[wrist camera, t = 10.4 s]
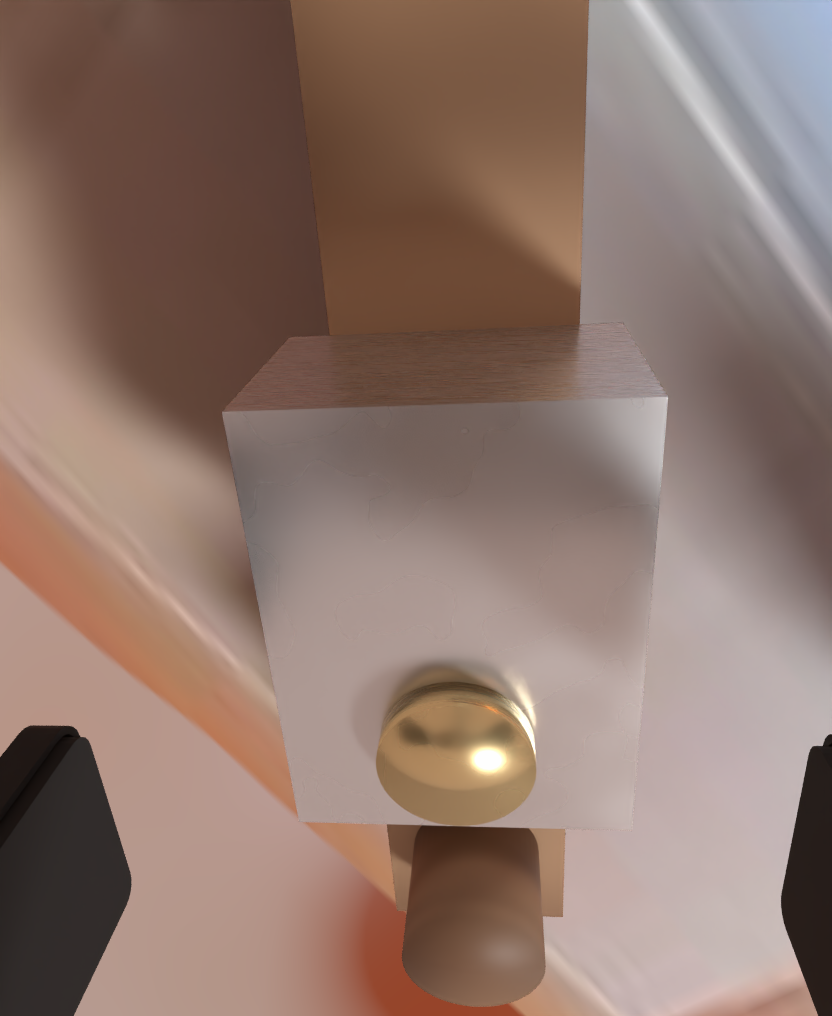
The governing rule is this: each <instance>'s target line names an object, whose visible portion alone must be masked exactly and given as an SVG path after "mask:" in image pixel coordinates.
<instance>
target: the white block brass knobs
mask: <svg viewBox="0 0 832 1016" xmlns="http://www.w3.org/2000/svg"><path fill="white" fill-rule="evenodd" d="M667 405H668V396H667V394H666V393H665V391H664V389H663V388H662V386H661V384H660V383H659V381H658V379H657V378H656V376H655V374H654V373H653V371H652V370H651V368H650V366H649V365H648V363H647V361H646V360H645V358H644V356H643V355H642V353H641V351H640V350H639V348H638V347H637V345H636V343H635V342H634V340H633V338H632V337H631V335H630V333H629V332H628V330H627V328H626V327H625V325H624V323H603V324H580V325H557V326H535V327H512V328H489V329H466V330H443V331H420V332H397V333H375V334H352V335H329V336H306V337H289V338H288V340H287V341H286V342H285V343H284V344H283V345H282V346H281V347H280V348H279V349H278V351H277V352H276V353H275V354H274V355H273V356H272V357H271V358H270V359H269V360H268V362H267V363H266V364H265V365H264V366H263V367H262V368H261V369H260V370H259V371H258V373H257V374H256V375H255V376H254V377H253V378H252V379H251V380H250V381H249V382H248V384H247V385H246V386H245V387H244V388H243V389H242V390H241V391H240V392H239V393H238V395H237V396H236V397H235V398H234V399H233V400H232V401H231V402H230V403H229V404H228V406H227V407H226V408H225V409H224V410H223V411H222V416H223V421H224V426H225V432H226V437H227V442H228V447H229V453H230V458H231V463H232V469H233V474H234V479H235V485H236V490H237V495H238V500H239V506H240V511H241V516H242V522H243V527H244V532H245V538H246V543H247V548H248V553H249V559H250V564H251V569H252V575H253V580H254V585H255V590H256V596H257V601H258V606H259V612H260V617H261V622H262V628H263V633H264V638H265V643H266V649H267V654H268V659H269V665H270V670H271V675H272V680H273V686H274V691H275V696H276V702H277V707H278V712H279V718H280V723H281V728H282V733H283V739H284V744H285V749H286V755H287V760H288V765H289V770H290V776H291V781H292V786H293V792H294V797H295V802H296V808H297V813H298V818H299V822H322V823H359V824H396V825H434V826H471V827H508V828H545V829H583V830H620V831H632V825H633V813H634V801H635V789H636V777H637V765H638V753H639V741H640V729H641V717H642V705H643V693H644V681H645V669H646V657H647V645H648V633H649V621H650V609H651V597H652V585H653V573H654V561H655V549H656V537H657V525H658V513H659V501H660V489H661V477H662V465H663V453H664V441H665V429H666V417H667Z"/></svg>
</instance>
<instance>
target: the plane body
mask: <svg viewBox="0 0 832 1016" xmlns="http://www.w3.org/2000/svg"><path fill="white" fill-rule="evenodd" d="M290 3H291V11H292V20H293V28H294V37H295V45H296V54H297V62H298V71H299V80H300V88H301V97H302V105H303V114H304V122H305V131H306V139H307V148H308V156H309V165H310V173H311V182H312V190H313V199H314V207H315V216H316V224H317V233H318V241H319V250H320V258H321V267H322V275H323V284H324V292H325V301H326V309H327V318H328V326H329V335H352V334H375V333H397V332H420V331H443V330H466V329H489V328H512V327H535V326H557V325H580V291H581V256H582V221H583V186H584V151H585V116H586V80H587V45H588V10H589V0H290ZM387 829H388V837H389V846H390V854H391V863H392V871H393V880H394V889H395V897H396V906H397V911H407V915H406V924H405V933H404V942H403V951H402V961H403V966H404V968H405V971H406V973H407V974H408V976H409V977H410V978H411V979H412V981H413V982H414V983H415V984H416V985H417V986H419V987H420V988H421V989H423V990H424V991H426V992H427V993H429V994H431V995H432V996H435V997H437V998H439V999H442V1000H445V1001H447V1002H451V1003H455V1004H459V1005H465V1006H475V1007H486V1006H497V1005H503V1004H507V1003H511V1002H514V1001H516V1000H519V999H521V998H523V997H525V996H526V995H528V994H530V993H531V992H532V991H533V990H534V989H536V987H537V986H538V985H539V984H540V982H541V981H542V979H543V977H544V974H545V967H546V966H545V949H544V933H543V916H549V917H563V888H564V853H565V829H545V828H508V827H471V826H434V825H396V824H387Z"/></svg>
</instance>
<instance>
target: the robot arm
mask: <svg viewBox="0 0 832 1016" xmlns="http://www.w3.org/2000/svg"><path fill="white" fill-rule="evenodd" d="M130 891H131V874H130V870H129V867H128V864H127V860H126V857H125V854H124V851H123V848H122V845H121V841H120V838H119V835H118V831H117V828H116V825H115V822H114V819H113V815H112V812H111V809H110V806H109V803H108V799H107V796H106V793H105V790H104V786H103V783H102V780H101V777H100V774H99V770H98V768H97V764H96V761H95V758H94V755H93V751H92V748H91V745H90V743H89V741H88V740H87V739H86V738H84V737H80V735H79V733H78V731H77V730H76V729H75V728H74V727H71V726H29V727H26V728H25V729H24V730H22V731H21V732H20V733H19V735H18V736H17V737H16V738H15V739H14V741H13V742H12V743H11V744H10V746H9V747H8V748H7V750H6V751H5V752H4V753H3V754H2V756H1V757H0V1016H74V1014H75V1012H76V1009H77V1008H78V1005H79V1003H80V1001H81V999H82V997H83V994H84V993H85V991H86V989H87V987H88V985H89V982H90V980H91V978H92V976H93V974H94V972H95V970H96V968H97V966H98V964H99V961H100V959H101V957H102V955H103V953H104V951H105V949H106V947H107V944H108V943H109V941H110V938H111V936H112V934H113V932H114V930H115V928H116V926H117V924H118V922H119V919H120V917H121V915H122V913H123V911H124V909H125V907H126V905H127V902H128V899H129V896H130ZM781 908H782V915H783V920H784V924H785V927H786V930H787V933H788V936H789V939H790V941H791V944H792V947H793V949H794V952H795V955H796V957H797V960H798V963H799V965H800V968H801V971H802V973H803V976H804V979H805V981H806V984H807V987H808V989H809V992H810V995H811V998H812V1000H813V1003H814V1006H815V1008H816V1011H817V1014H818V1016H832V734H830V735H828V736H827V737H826V738H825V741H824V744H823V746H813V747H812V748H811V749H810V752H809V756H808V761H807V766H806V772H805V777H804V782H803V787H802V792H801V797H800V802H799V807H798V812H797V818H796V823H795V828H794V833H793V838H792V843H791V848H790V853H789V858H788V864H787V869H786V874H785V879H784V884H783V889H782V895H781Z"/></svg>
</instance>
